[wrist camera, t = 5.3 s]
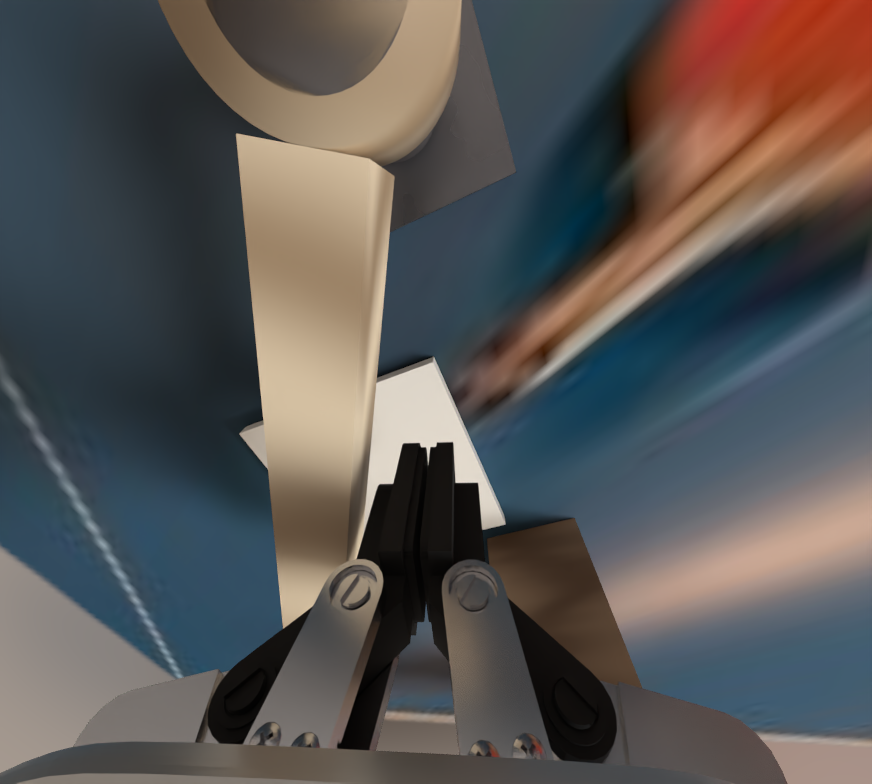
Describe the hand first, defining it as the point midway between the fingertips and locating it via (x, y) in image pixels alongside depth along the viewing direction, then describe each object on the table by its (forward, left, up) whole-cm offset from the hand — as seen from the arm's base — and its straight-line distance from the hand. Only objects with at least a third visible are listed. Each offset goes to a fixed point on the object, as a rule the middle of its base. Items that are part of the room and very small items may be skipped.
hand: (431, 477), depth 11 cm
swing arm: (+1, -3, -4) cm, 6 cm away
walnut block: (-2, +12, -5) cm, 13 cm away
